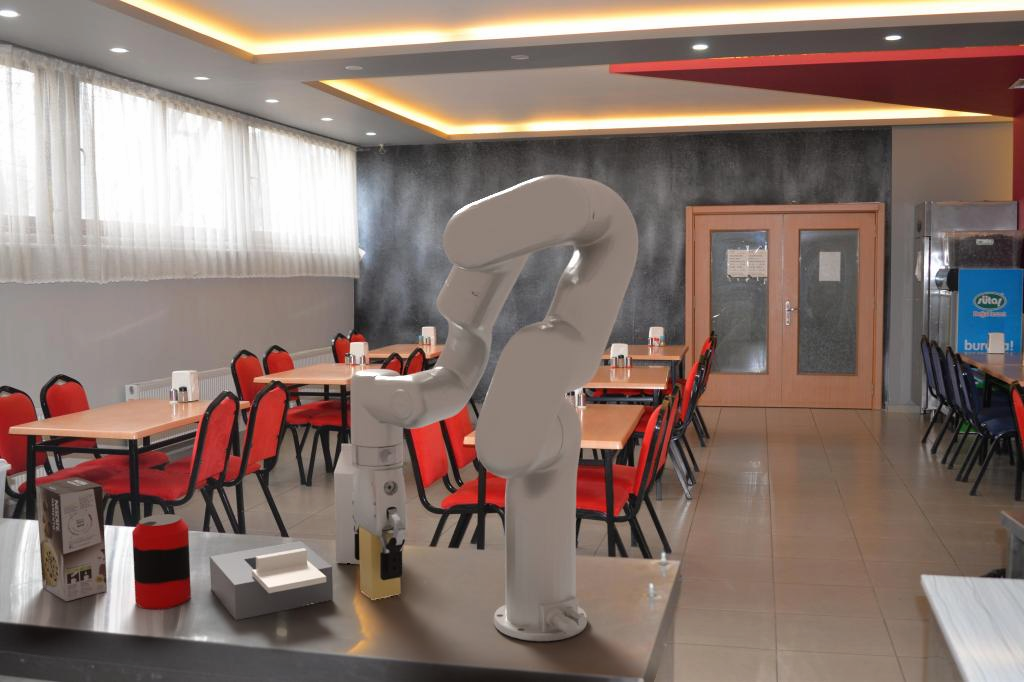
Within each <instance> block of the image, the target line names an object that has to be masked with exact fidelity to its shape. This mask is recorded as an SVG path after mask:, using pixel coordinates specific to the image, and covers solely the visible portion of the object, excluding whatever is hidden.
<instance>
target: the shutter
mask: <svg viewBox="0 0 1024 682" xmlns="http://www.w3.org/2000/svg"><path fill="white" fill-rule="evenodd" d="M252 576H253V577H254V578H255V579H256V580H257V581H258V582H259V583H260V585H261V586H262V587H263V588H264V589H265V590H266V591H267V592H268V593H273V592H278V591H284V590H289V589H294V588H299V587H304V586H309V585H314V584H319V583H324V582H326V576H325V575H324V574H323V573H321V572H320V571H319V570H318V569H317V568H316V567H314V566H313V565H312V564H311V563H310V562H309V561H307V550H306V549H305V548H301V549H295V550H290V551H284V552H278V553H272V554H267V555H261V556H256V569H255V570H252Z"/></svg>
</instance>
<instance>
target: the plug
mask: <svg viewBox="0 0 1024 682" xmlns="http://www.w3.org/2000/svg"><path fill="white" fill-rule="evenodd" d="M387 530H393V529H392V528H391V529H385V530H383V531H387ZM391 538H393V536H391V537H386V539H387V543H388V542H389V541H390V539H391ZM359 551H360V564H359V586H360V587H359V589H360V590H361V591H363V592H364V593H365V594H366V595H368V596H369V597H370V598H372V599H375V598H381V597H385V596H389V595H395V594H402V593H401V589H402V588H401V577H399V578H394V579H389V580H382V579H381V578H380V552H383V550H382V546H381V543H380V539H379V537H377V536H375V535H373V534H372V533H370V532H369V531H367V530H366V529H364V528H363V527H361V526H359Z"/></svg>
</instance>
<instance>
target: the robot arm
mask: <svg viewBox="0 0 1024 682" xmlns="http://www.w3.org/2000/svg"><path fill="white" fill-rule="evenodd" d="M442 242H443V249H444V253H445V256H446V257H447V259H448V261H449V262H450V263H451V264H452V267H451V270H450V272H449V274H448V276H447V278H446V280H445V282H444V283H443V287H442V288H441V290H440V292H439V294H438V296H437V299H436V307H437V310H438V312H439V314H440V315H441V316H442V317H443V318H444V319H445V320H446V321H447V323H448V324H447V325H448V333H447V338H446V341H445V344H444V347H443V349H442V350H441V352H440V354H439V356H438V358H437V361H436V363H435V364H434V365H433V368H432V369H427V370H423V371H418V372H415V373H411V374H407V375H406V374H405V375H401V374H400V373H399V372H398V371H395V370H392V369H387V368H370V369H369V368H368V369H361V370H358V371H356V372H355V373H354V374H353V375H352V376H351V379H350V444H351V465H352V466H353V467H354V479H353V499H352V505H353V519H354V521H355V524H354V532H355V533H357V534H354V538H355V559H357V560H360V551H359V526H361V527H363V528H364V529H366V530H367V531H369V532H370V533H372V534H373V535H375V536H377V537H379V539H380V543H381V546H382V550H383V552H380V578H381V579H382V580H389V579H394V578H399V577H400V578H401V577H402V576H403V551H404V545H405V542H406V539H405V537H406V532H407V530H408V514H407V513H408V510H407V494H406V484H405V476H404V471H403V467H402V466H403V465H404V429H407V430H410V429H412V430H413V429H420V428H424V427H427V426H429V425H432V424H434V423H437V422H441V421H444V420H446V419H450V418H453V417H454V416H456V415H458V414H459V413H460V412H461V411H462V410H464V408H465V407H466V405H467V404H468V402H469V401H470V399H471V397H472V396H473V395H474V392H475V390H476V389H477V386H478V385H479V384H480V381H481V379H482V377H483V375H484V373H485V370H486V368H487V366H488V362H489V359H490V354H491V347H492V340H493V338H492V337H493V334H492V333H493V327H494V325H495V323H496V321H497V319H498V317H499V315H500V313H501V311H502V309H503V306H504V305H505V303H506V301H507V299H508V297H509V295H510V293H511V292H512V290H513V287H514V286H515V284H516V283H517V279H518V278H519V276H520V274H521V272H522V270H523V268H524V267H525V264H526V263H527V262H528V259H529V257H530V255H531V254H533V253H535V252H539V251H541V250H545V249H548V248H551V247H555V246H573V253H572V257H571V259H570V261H569V262H568V264H567V266H566V267H565V269H564V271H563V272H562V275H561V276H560V278H559V280H558V283H557V285H556V289H555V292H554V295H553V299H552V301H551V303H550V305H549V308H548V310H547V313H546V315H545V317H544V319H543V320H541V321H539V322H534V323H530V324H528V325H525V326H523V327H522V328H520V329H518V330H517V331H516V332H515V333H514V334H513V335H512V336H511V337H510V339H509V340H508V341H507V342H506V344H505V345H504V347H503V348H502V351H501V353H500V355H499V358H498V359H497V363H496V366H495V370H494V372H493V375H492V377H491V381H490V384H489V387H488V389H487V391H486V396H485V398H484V400H483V404H482V406H481V410H480V412H479V415H478V419H477V421H476V426H475V430H474V431H475V432H474V446H475V451H476V455H477V458H478V460H479V461H480V463H481V465H482V466H483V467H484V468H485V469H486V470H487V471H488V472H489V473H491V474H492V475H494V476H496V477H498V478H502V479H506V480H505V481H506V483H505V494H504V565H505V566H504V571H505V572H504V575H505V576H504V581H505V582H504V583H505V584H504V585H505V587H504V588H505V589H504V590H505V593H504V595H505V598H504V599H505V604H503V605H502V606H500V607H498V608H497V609H496V610H495V613H494V614H493V623H494V627H495V628H496V629H497V630H498V631H499V632H500V633H502V634H504V635H506V636H508V637H511V638H514V639H518V640H523V641H529V642H551V641H553V642H554V641H560V640H564V639H569V638H573V637H574V636H576V635H579V634H580V633H581V632H583V631H584V630H585V629H586V627H587V624H588V619H587V618H588V615H587V613H586V612H585V610H584V609H583V608H581V606H579V598H578V597H576V578H577V577H576V572H577V571H576V564H577V563H576V562H577V561H576V559H577V556H576V555H577V554H576V547H577V546H576V543H577V542H576V539H577V538H576V537H577V535H576V532H577V530H576V529H577V525H576V524H577V523H576V520H577V519H576V518H577V517H576V513H577V484H578V483H577V479H578V469H579V460H580V453H581V447H582V446H581V445H582V436H583V435H582V431H583V430H582V423H581V419H580V416H579V414H578V411H577V410H576V408H575V406H574V405H573V404H572V402H571V401H570V400H568V399H567V398H566V397H565V396H566V394H569V393H571V392H574V391H577V390H579V389H581V388H583V387H585V386H586V385H588V384H589V383H590V382H591V381H592V380H593V379H594V377H595V376H596V374H597V372H598V371H599V367H600V365H601V361H602V358H603V356H604V354H605V349H606V348H607V345H608V342H609V340H610V338H611V337H610V336H611V334H612V331H613V328H614V325H615V323H616V321H617V318H618V315H619V311H620V308H621V306H622V303H623V300H624V297H625V295H626V291H627V290H628V287H629V284H630V281H631V279H632V276H633V273H634V270H635V267H636V264H637V259H638V254H639V232H638V226H637V223H636V219H635V217H634V216H633V214H632V211H631V210H630V208H629V206H628V204H627V203H626V202H625V200H623V198H622V197H621V196H620V195H619V194H618V193H617V192H616V191H615V190H613V189H612V188H611V187H609V186H608V185H606V184H604V183H601V182H600V181H597V180H594V179H591V178H585V177H579V176H578V177H577V176H570V175H565V174H564V175H563V174H545V175H541V176H540V175H539V176H537V177H533V178H531V179H528V180H525V181H523V182H521V183H518V184H516V185H514V186H512V187H509V188H506V189H505V190H501V191H499V192H497V193H494V194H492V195H489V196H486V197H484V198H481V199H479V200H477V201H474V202H471V203H469V204H467V205H465V206H463V207H462V208H460V209H459V210H457V211H456V212H455V213H454V214H453V215H452V216H451V217H450V219H449V220H448V222H447V223H446V226H445V229H444V232H443V239H442ZM391 528H392V529H393V530H387V531H383V530H385V529H391ZM391 536H393V538H391V539H390V541H389V542H388V543H387V539H386V537H391Z"/></svg>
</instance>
